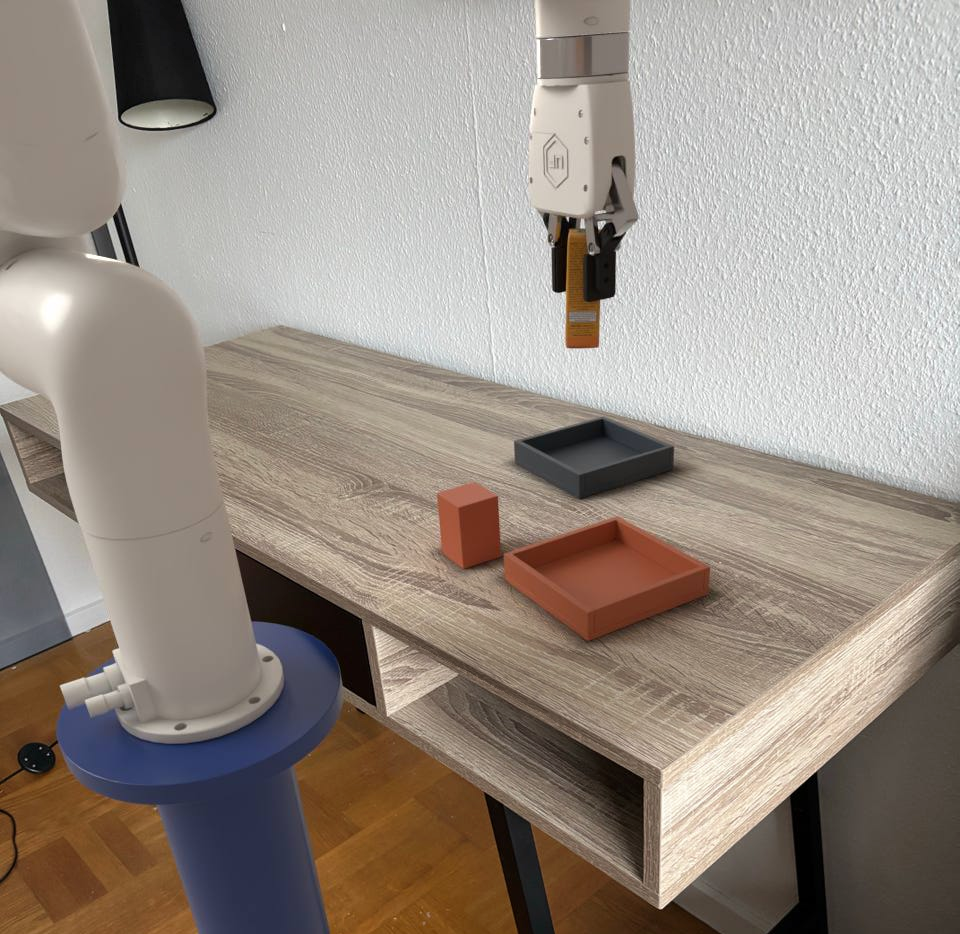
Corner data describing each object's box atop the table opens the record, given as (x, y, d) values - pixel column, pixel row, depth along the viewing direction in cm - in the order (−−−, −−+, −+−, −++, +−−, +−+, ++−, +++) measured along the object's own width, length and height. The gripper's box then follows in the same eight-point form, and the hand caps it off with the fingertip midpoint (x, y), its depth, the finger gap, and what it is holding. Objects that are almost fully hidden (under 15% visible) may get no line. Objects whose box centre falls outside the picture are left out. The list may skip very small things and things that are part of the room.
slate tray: (579, 499, 95) (579, 475, 94) (514, 463, 104) (513, 440, 103) (673, 469, 100) (674, 446, 99) (603, 437, 109) (603, 416, 108)
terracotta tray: (588, 641, 73) (588, 612, 71) (504, 580, 82) (503, 553, 80) (708, 594, 78) (710, 566, 76) (617, 541, 87) (617, 515, 85)
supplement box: (602, 348, 88) (603, 233, 82) (565, 349, 88) (563, 235, 83) (601, 338, 91) (602, 226, 85) (565, 340, 91) (564, 228, 86)
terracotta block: (463, 569, 84) (458, 507, 81) (441, 552, 87) (436, 492, 84) (501, 556, 86) (498, 495, 82) (479, 541, 89) (475, 481, 85)
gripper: (490, 67, 82) (501, 287, 92) (607, 64, 69) (605, 319, 79) (562, 61, 85) (565, 274, 95) (686, 57, 72) (675, 303, 82)
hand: (583, 292), depth 87 cm, fingers closed on supplement box, 4 cm apart
